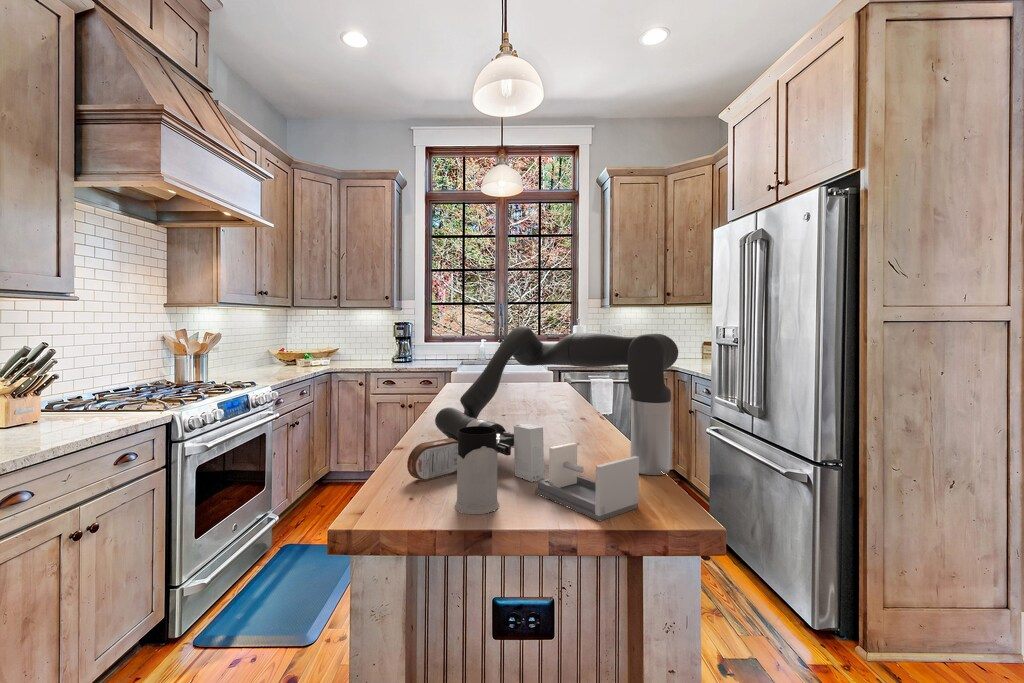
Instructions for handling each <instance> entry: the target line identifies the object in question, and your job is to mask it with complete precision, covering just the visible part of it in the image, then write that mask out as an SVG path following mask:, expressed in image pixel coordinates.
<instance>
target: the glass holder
mask: <svg viewBox="0 0 1024 683" xmlns="http://www.w3.org/2000/svg"><path fill="white" fill-rule="evenodd" d="M498 507H499V508H500V503H499V501H498V453H497V430H496V429H495V428H492V427H486V426H470V427H464V428H461V429H459V430H458V455H457V472H456V502H455V504H454V509H455V511H457V512H458V511H460V512H459V513H461V512H462V513H461V514H464V513H465V514H464V515H469V514H483V515H485V514H484V513H488V514H490V513H489V512H492V511H494V510H496V509H497V508H498ZM499 508H498V509H499ZM498 509H497V510H498ZM497 510H496V511H497ZM494 512H495V511H494ZM492 513H493V512H492Z"/></svg>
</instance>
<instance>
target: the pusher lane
mask: <svg viewBox="0 0 1024 683" xmlns="http://www.w3.org/2000/svg"><path fill="white" fill-rule="evenodd" d="M639 474H640V473H639V457H637V456H633V457H630V456H629V457H626V458H621V459H617V460H613V461H609V462H605V463H601V464H597V465H595V480H593V479H590V478H588V477H585V476H582V475H579V474H577V483H575V484H572V485H568V486H564V487H561V488H559V487H556V486H554V485H551V484H549V477H548V478H544V479H542V480H538V481H536V482H537V483H536V488H535V490H534V491H535V493H537V494H536V495H538V494H539V495H538V496H540V495H542V496H544V497H543V498H545V497H546V498H545V499H547V498H548V499H547V500H549V499H551V500H553V501H552V502H554V501H556V502H558V503H561V504H563V505H565V506H568V507H570V508H572V509H574V510H576V511H578V512H577V513H579V512H581V513H583V514H585V515H584V516H586V515H587V516H586V517H588V516H590V517H592V518H594V519H593V520H595V519H597V520H599V521H598V522H601V521H600V520H602V521H604V520H603V519H605V520H607V519H606V518H608V519H610V518H609V517H611V518H613V517H615V516H619V515H623V514H624V513H627V512H630V511H634V510H637V509H638V508H639V481H640V480H639V479H640V478H639V477H640V476H639ZM542 496H541V497H542ZM551 500H550V501H551ZM556 502H555V503H556ZM558 503H557V504H558ZM561 504H560V505H561ZM563 505H562V506H563ZM565 506H564V507H565ZM570 508H569V509H570ZM572 509H571V510H572ZM574 510H573V511H574ZM576 511H575V512H576ZM581 513H580V514H581ZM583 514H582V515H583ZM618 514H619V515H618ZM612 516H613V517H612ZM590 517H589V518H590ZM592 518H591V519H592ZM597 520H596V521H597Z"/></svg>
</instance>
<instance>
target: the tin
mask: <svg viewBox="0 0 1024 683" xmlns="http://www.w3.org/2000/svg"><path fill="white" fill-rule="evenodd" d="M457 455H458V441H456V440H455V439H452V438H448V437H447V438H443V439H438V440H431V441H426V442H425V441H424V442H421V443H419V444H417V445H416V446H414V447H413V449H412V450H411V451H410V453H409V455H408V458H407V461H406V462H407V464H406V465H407V466H406V467H407V471H408V474H409V475H410V476H411V477H412V478H414V479H417V480H419V481H423V482H428V481H431V480H436V479H440V478H443V476H444V477H446V476H447V475H448V476H451V474H452V475H455V474H457Z"/></svg>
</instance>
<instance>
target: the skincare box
mask: <svg viewBox="0 0 1024 683" xmlns="http://www.w3.org/2000/svg"><path fill="white" fill-rule="evenodd" d="M513 433H514V448H513V449H514V451H513V452H514V476H516V477H517V478H520V479H522V478H523V479H522V480H525V481H528V482H530V483H532V482H533V481H534V482H537V481H540V480H544V479H545V465H544V464H545V463H544V462H545V458H544V455H545V454H544V449H545V448H544V427H543V426H540V425H535V424H532V423H531V424H530V423H527V422H526V423H520V424H515V425H513Z"/></svg>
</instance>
